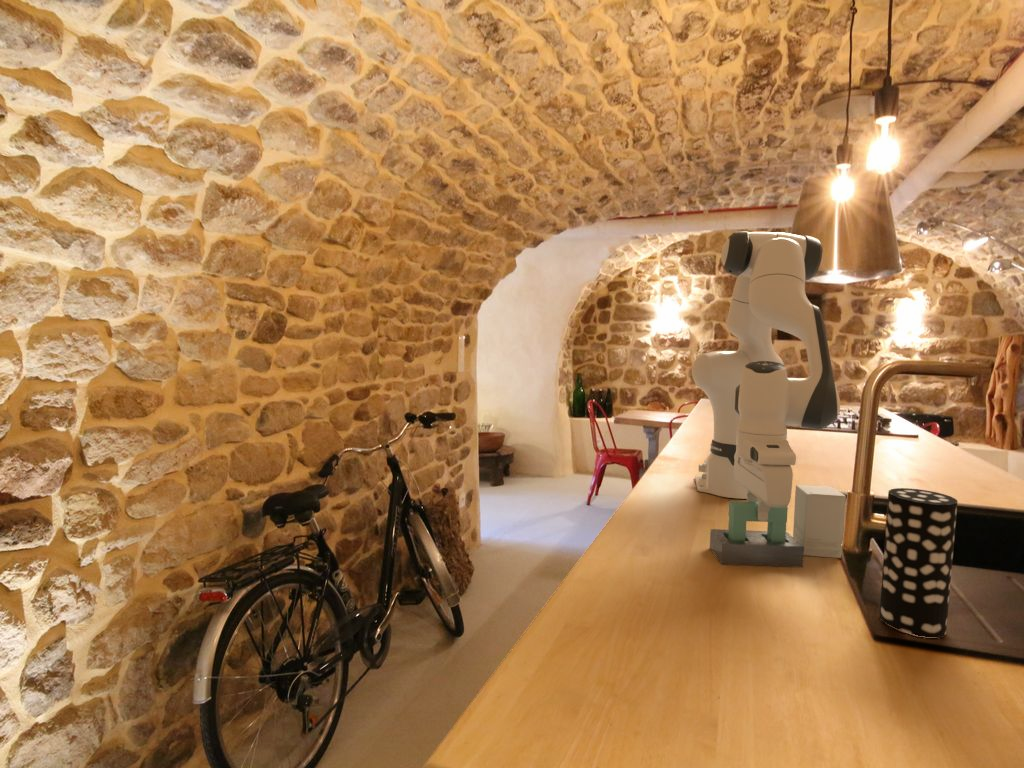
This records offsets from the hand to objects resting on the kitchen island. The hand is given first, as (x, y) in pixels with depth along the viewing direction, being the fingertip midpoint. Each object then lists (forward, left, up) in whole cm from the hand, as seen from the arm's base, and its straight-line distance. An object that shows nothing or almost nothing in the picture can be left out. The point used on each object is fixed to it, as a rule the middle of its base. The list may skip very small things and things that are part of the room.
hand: (757, 516), depth 110 cm
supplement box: (-5, +14, -9) cm, 17 cm away
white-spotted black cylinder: (+24, +15, -9) cm, 29 cm away
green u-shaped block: (0, 0, -7) cm, 7 cm away
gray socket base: (0, 0, -8) cm, 8 cm away
